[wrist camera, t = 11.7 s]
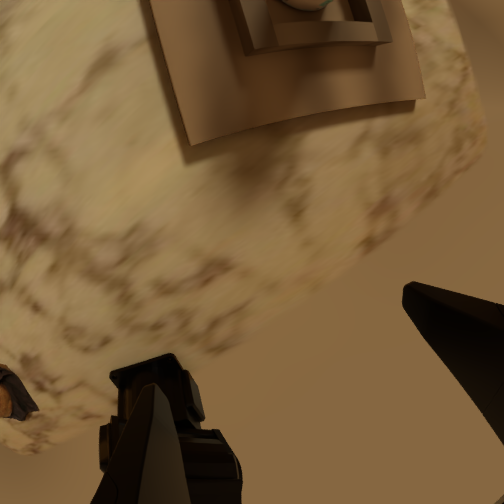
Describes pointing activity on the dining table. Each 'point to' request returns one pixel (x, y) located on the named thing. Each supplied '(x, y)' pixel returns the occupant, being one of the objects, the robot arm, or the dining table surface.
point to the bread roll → (14, 396)
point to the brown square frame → (282, 60)
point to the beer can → (307, 4)
